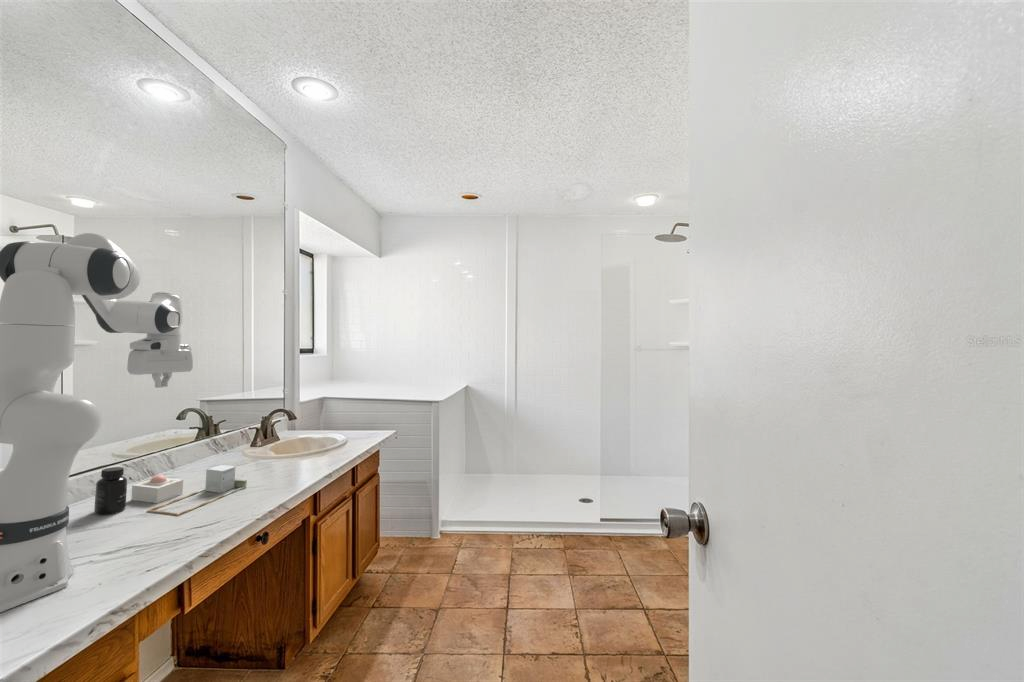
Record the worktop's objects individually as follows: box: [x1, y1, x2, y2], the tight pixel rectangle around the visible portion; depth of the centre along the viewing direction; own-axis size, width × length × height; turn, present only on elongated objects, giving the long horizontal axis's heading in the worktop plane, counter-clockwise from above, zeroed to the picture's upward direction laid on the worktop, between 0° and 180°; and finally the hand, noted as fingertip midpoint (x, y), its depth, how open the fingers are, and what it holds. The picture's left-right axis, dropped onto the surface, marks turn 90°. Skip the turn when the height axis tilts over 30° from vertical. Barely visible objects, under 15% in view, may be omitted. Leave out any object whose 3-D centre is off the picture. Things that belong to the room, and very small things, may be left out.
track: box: [146, 478, 248, 517], centre depth 145 cm, size 27×10×2 cm, turn 172°
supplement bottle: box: [93, 466, 128, 515], centre depth 132 cm, size 7×7×12 cm
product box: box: [204, 464, 236, 494], centre depth 154 cm, size 6×6×7 cm
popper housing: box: [130, 477, 184, 504], centre depth 144 cm, size 9×9×4 cm
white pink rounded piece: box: [147, 474, 170, 487], centre depth 144 cm, size 6×6×6 cm
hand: (161, 387), depth 147 cm, fingers closed
